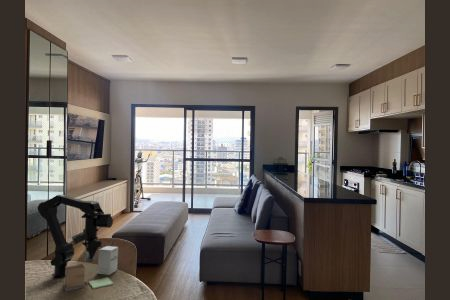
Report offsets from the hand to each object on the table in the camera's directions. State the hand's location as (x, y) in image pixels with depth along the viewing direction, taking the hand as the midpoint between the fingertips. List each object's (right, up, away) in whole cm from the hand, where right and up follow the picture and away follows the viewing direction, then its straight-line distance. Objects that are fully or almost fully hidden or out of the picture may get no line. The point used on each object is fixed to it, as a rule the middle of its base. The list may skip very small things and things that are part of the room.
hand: (89, 258), depth 149 cm
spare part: (0, -1, 0) cm, 1 cm away
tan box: (-2, -9, -12) cm, 15 cm away
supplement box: (+6, -11, +8) cm, 14 cm away
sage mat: (+9, -10, -7) cm, 15 cm away
